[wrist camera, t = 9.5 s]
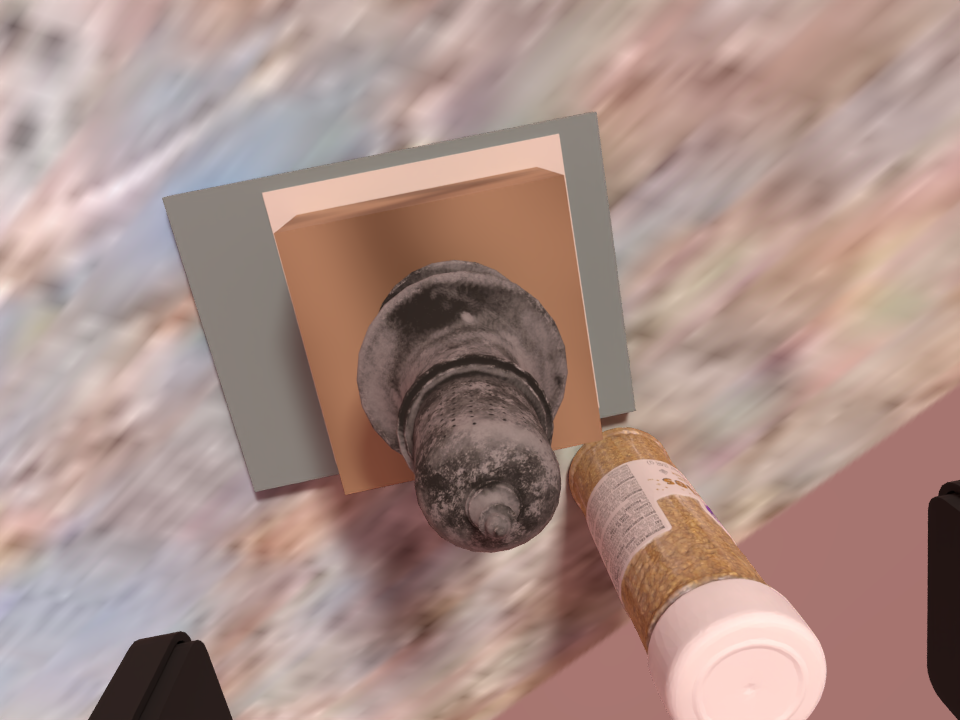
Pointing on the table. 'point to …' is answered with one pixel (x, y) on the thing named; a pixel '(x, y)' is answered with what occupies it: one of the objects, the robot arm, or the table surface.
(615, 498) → the sprinkles bottle
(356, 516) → the table surface
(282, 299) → the grey flat slab
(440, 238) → the walnut block
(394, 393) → the dark grey chess piece
